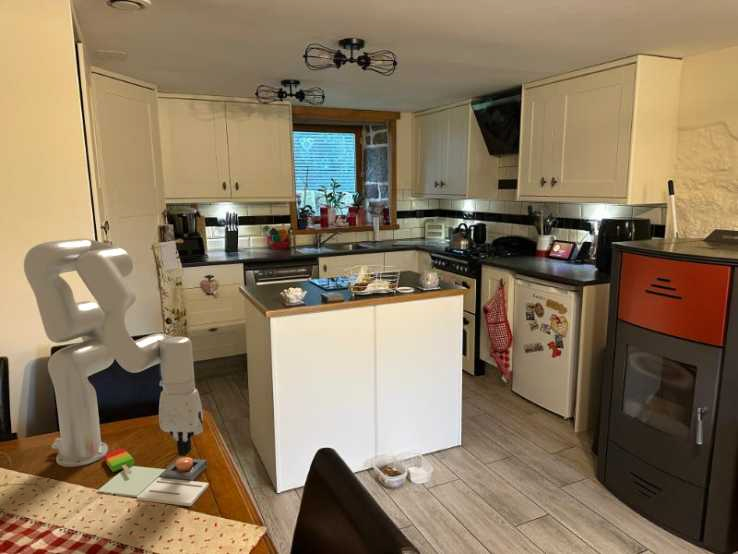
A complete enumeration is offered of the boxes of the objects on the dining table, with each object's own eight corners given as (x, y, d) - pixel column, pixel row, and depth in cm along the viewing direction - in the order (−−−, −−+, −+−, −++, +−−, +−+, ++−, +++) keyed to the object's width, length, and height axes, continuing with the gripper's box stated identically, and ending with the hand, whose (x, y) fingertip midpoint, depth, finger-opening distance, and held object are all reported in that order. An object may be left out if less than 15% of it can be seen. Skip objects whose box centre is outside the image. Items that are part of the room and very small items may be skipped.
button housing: (162, 480, 130) (161, 473, 130) (179, 464, 138) (179, 457, 138) (191, 483, 129) (190, 476, 128) (206, 467, 137) (206, 460, 136)
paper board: (137, 499, 122) (136, 496, 122) (158, 480, 130) (158, 477, 130) (190, 506, 119) (190, 502, 119) (208, 485, 128) (208, 482, 128)
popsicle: (117, 474, 129) (102, 454, 140) (118, 481, 129) (103, 461, 140) (140, 465, 132) (123, 447, 143) (141, 472, 132) (124, 453, 144)
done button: (173, 471, 132) (172, 464, 131) (181, 463, 136) (181, 456, 135) (187, 472, 131) (187, 465, 131) (195, 464, 135) (195, 457, 134)
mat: (97, 493, 125) (96, 490, 125) (128, 467, 137) (128, 465, 136) (137, 497, 123) (137, 495, 123) (166, 471, 134) (165, 469, 134)
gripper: (143, 389, 127) (150, 458, 130) (198, 393, 125) (204, 463, 127) (161, 379, 135) (167, 444, 138) (213, 382, 132) (218, 448, 135)
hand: (184, 453), depth 132 cm, fingers closed
